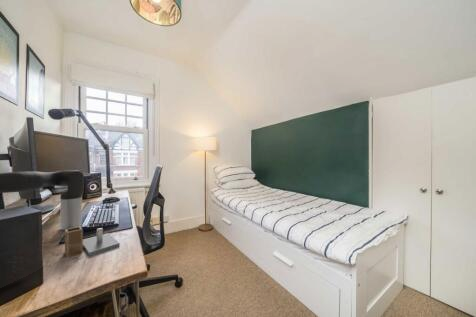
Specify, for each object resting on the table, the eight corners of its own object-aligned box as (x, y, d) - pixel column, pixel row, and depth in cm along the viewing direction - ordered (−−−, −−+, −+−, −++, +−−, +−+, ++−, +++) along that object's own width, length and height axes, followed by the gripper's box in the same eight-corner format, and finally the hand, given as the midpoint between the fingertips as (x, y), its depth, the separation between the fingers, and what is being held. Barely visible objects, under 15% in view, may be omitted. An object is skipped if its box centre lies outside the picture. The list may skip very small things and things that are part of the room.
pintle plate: (80, 243, 86) (80, 227, 86) (108, 235, 94) (108, 221, 94) (89, 256, 75) (89, 238, 75) (119, 246, 83) (119, 230, 83)
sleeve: (64, 253, 77) (64, 229, 77) (80, 248, 81) (80, 226, 81) (66, 257, 74) (66, 232, 74) (82, 252, 78) (82, 229, 78)
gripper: (-47, 265, 52) (37, 244, 65) (-37, 248, 61) (35, 233, 74) (-47, 291, 52) (37, 265, 65) (-37, 270, 61) (35, 251, 74)
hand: (36, 248), depth 69 cm, fingers open, 8 cm apart
